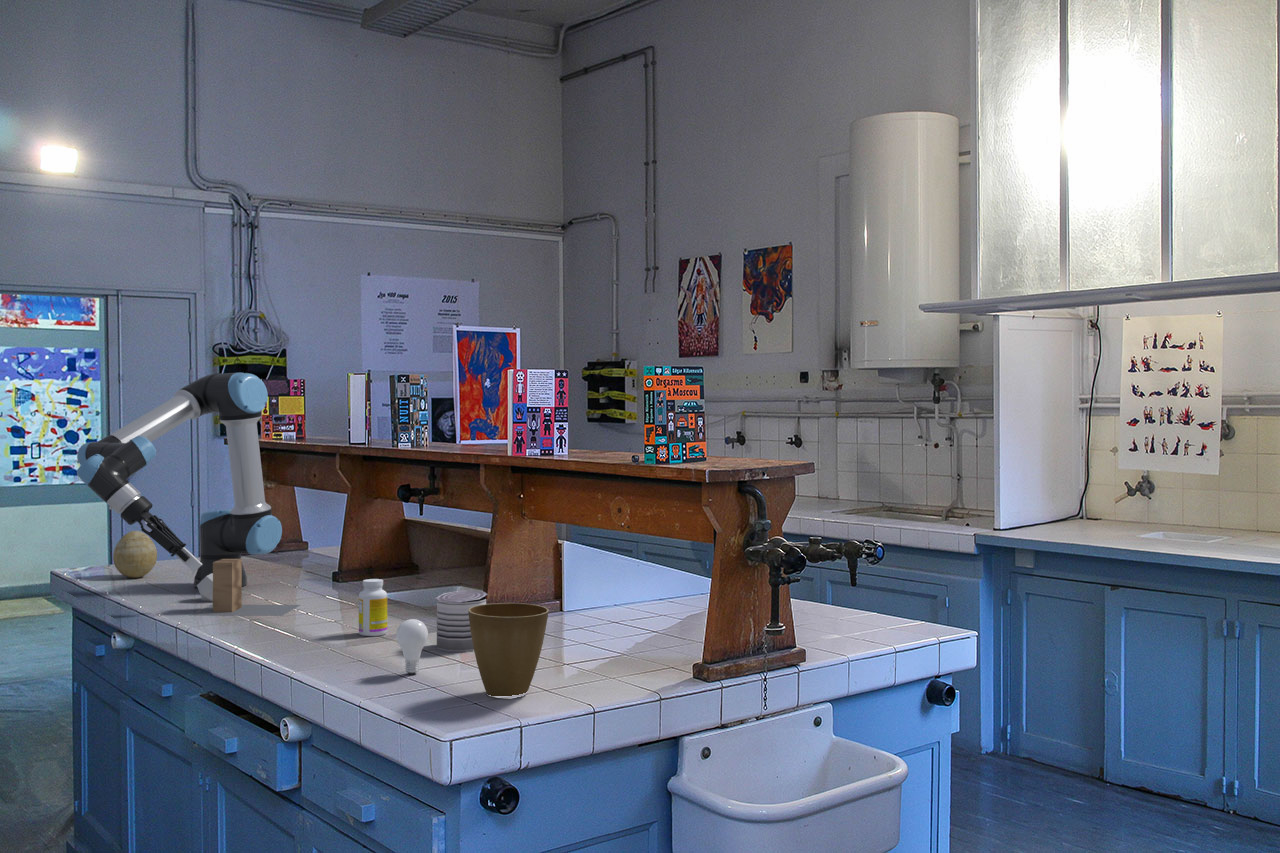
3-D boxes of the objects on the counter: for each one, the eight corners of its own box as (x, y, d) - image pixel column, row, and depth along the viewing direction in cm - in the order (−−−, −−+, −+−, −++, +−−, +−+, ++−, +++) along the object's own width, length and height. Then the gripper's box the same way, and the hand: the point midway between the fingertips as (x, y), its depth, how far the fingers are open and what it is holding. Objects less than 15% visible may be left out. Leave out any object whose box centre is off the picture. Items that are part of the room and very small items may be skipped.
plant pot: (481, 708, 191) (481, 618, 191) (458, 689, 205) (458, 605, 205) (559, 699, 198) (560, 612, 198) (532, 681, 211) (533, 600, 211)
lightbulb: (398, 670, 220) (398, 616, 220) (429, 670, 220) (429, 616, 220) (393, 677, 213) (393, 622, 213) (426, 677, 214) (426, 622, 214)
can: (494, 648, 241) (495, 595, 241) (447, 654, 235) (447, 599, 235) (474, 639, 251) (474, 588, 251) (427, 644, 245) (428, 592, 245)
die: (238, 603, 302) (232, 573, 306) (225, 592, 294) (219, 562, 299) (209, 614, 301) (204, 584, 305) (196, 603, 293) (190, 573, 298)
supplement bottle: (392, 632, 259) (393, 579, 258) (377, 637, 252) (377, 583, 252) (368, 630, 261) (368, 577, 261) (352, 635, 255) (353, 581, 254)
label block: (221, 607, 288) (222, 558, 288) (241, 607, 288) (241, 558, 288) (211, 612, 281) (212, 562, 281) (232, 612, 281) (232, 562, 281)
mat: (212, 606, 293) (212, 604, 293) (301, 606, 293) (301, 604, 293) (188, 617, 277) (188, 615, 277) (282, 617, 277) (282, 615, 277)
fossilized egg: (145, 580, 338) (145, 533, 337) (105, 580, 338) (105, 532, 338) (164, 575, 350) (164, 528, 350) (125, 574, 350) (125, 528, 350)
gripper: (126, 513, 285) (193, 575, 289) (112, 517, 273) (181, 582, 276) (148, 492, 286) (214, 555, 289) (134, 496, 274) (203, 561, 277)
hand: (198, 568), depth 283 cm, fingers closed
